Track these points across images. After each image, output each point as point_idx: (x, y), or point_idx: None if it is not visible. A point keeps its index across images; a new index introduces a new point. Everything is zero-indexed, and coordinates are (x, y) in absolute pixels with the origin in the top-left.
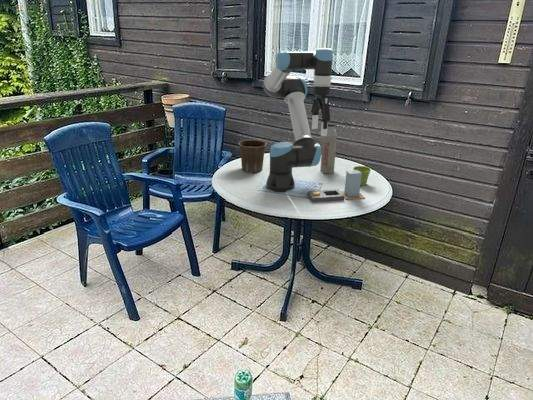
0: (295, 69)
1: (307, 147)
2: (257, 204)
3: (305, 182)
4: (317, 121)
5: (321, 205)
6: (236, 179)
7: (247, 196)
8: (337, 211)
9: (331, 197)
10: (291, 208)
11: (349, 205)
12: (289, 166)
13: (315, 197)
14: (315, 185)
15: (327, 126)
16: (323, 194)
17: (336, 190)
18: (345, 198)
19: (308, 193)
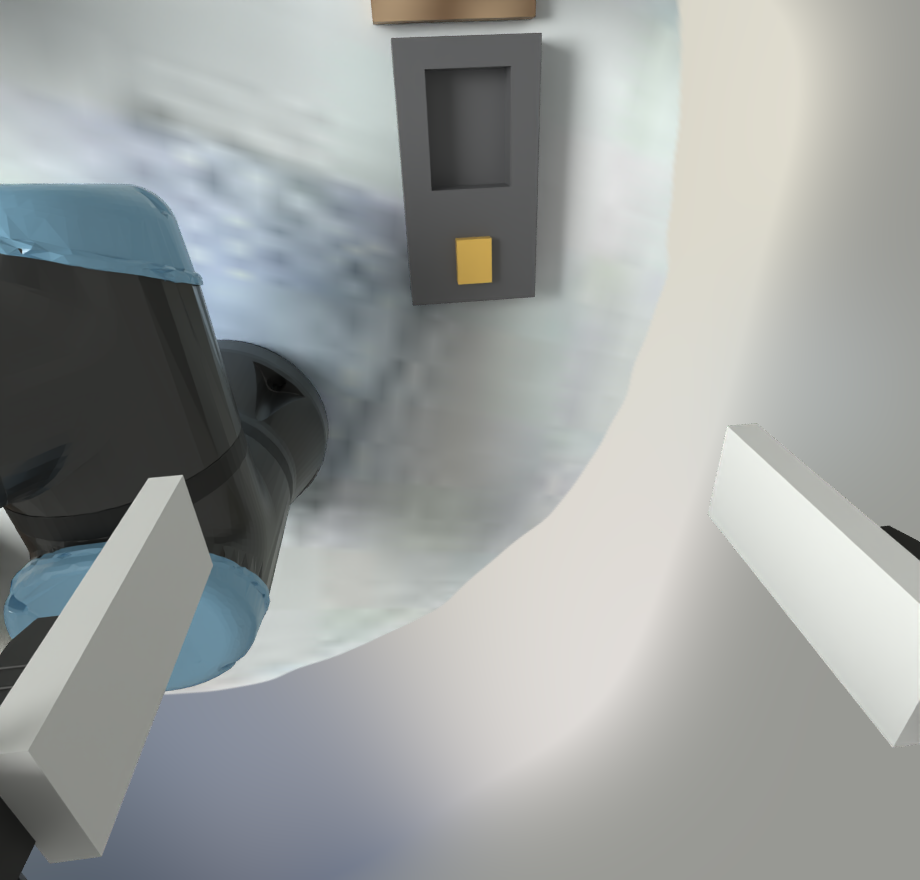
0: None
1: (104, 389)
2: (482, 547)
3: None
4: (125, 600)
5: (558, 233)
6: None
7: (380, 582)
8: (667, 153)
9: (536, 153)
10: (560, 409)
11: (603, 17)
12: (256, 468)
13: (527, 276)
14: (189, 175)
15: (884, 534)
16: (487, 204)
17: (420, 63)
18: (520, 14)
19: (442, 301)
